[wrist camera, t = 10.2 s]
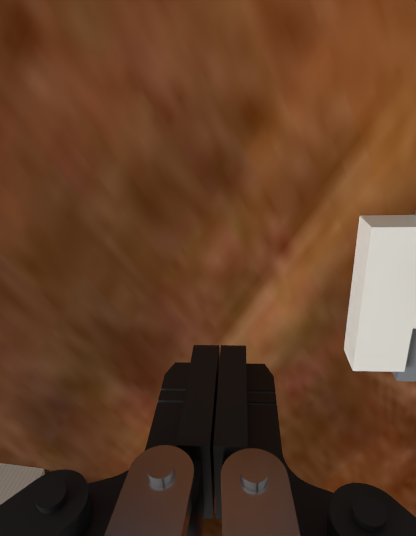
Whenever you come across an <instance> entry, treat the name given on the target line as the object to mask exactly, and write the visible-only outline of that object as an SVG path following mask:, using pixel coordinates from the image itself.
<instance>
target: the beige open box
mask: <svg viewBox="0 0 416 536" xmlns="http://www.w3.org/2000/svg"><path fill="white" fill-rule="evenodd" d="M43 475H45V471H44V469H42V468H34V467H26V466H18V465H10V464H2V463H0V505H1V504H2V503H4V502H5V501H6V500H8V499H9V498H11V497H12V496H13V495H15V494H16V493H18V492H19V491H20V490H22V489H23V488H25V487H26V486H27V485H29V484H30V483H32V482H33V481H35V480H36V479H38V478H39V477H41V476H43Z"/></svg>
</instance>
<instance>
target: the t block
mask: <svg viewBox="0 0 416 536" xmlns="http://www.w3.org/2000/svg"><path fill="white" fill-rule="evenodd" d="M413 328H414V329H416V215H372V216H360V218H359V226H358V234H357V243H356V251H355V260H354V268H353V277H352V285H351V294H350V302H349V311H348V319H347V327H346V336H345V344H344V351H345V353H346V356H347V358H348V360H349V363H350V365H351V368H352V370H353V371H389V372H404V371H405V366H406V361H407V356H408V350H409V345H410V340H411V335H412V330H413Z"/></svg>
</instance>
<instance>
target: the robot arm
mask: <svg viewBox="0 0 416 536" xmlns="http://www.w3.org/2000/svg"><path fill="white" fill-rule="evenodd" d="M214 500H215V502H216V519H222V536H416V517H415V516H413V515H412V514H411V513H410V512H409V511H407V510H406V509H405V508H404V507H403V506H401V505H400V504H399V503H398V502H397V501H396V500H394V499H393V498H392V497H391V496H389V495H388V494H387V493H385V492H384V491H382V490H380V489H379V488H376V487H374V486H371V485H368V484H363V483H351V484H346V485H344V486H342V487H340V488H338V489H337V490H336V491H335V492H334V493H332V492H329V491H327V490H324V489H321V488H318V487H315V486H313V485H310V484H308V483H306V482H304V481H303V480H301V479H300V478H298V477H297V476H296V475H295V474H294V473H293V472H292V471H291V470H290V469H289V467H288V466H287V464H286V463H285V460H284V458H283V454H282V447H281V439H280V430H279V421H278V412H277V405H276V394H275V385H274V377H273V375H272V374H271V372H270V371H269V369H268V368H267V367H266V365H265V364H246V346H229V345H221V350H220V351H219V345H194V347H193V352H192V358H191V363H176V362H175V364H174V365H173V366H172V367H171V368H170V369H169V370H168V372H167V373H166V374H165V376H164V380H163V384H162V388H161V392H160V396H159V399H158V403H157V407H156V411H155V415H154V419H153V422H152V426H151V430H150V434H149V438H148V441H147V445H146V448H145V451H144V452H142V453H141V454H140V455H139V456H138V457H137V458H136V459H135V460H134V461H133V463H132V464H131V466H130V468H129V470H127V471H126V472H124V473H122V474H120V475H118V476H115V477H112V478H108V479H104V480H101V481H97V482H93V483H89V484H87V482H86V480H85V478H84V477H83V476H82V475H81V474H80V473H78V472H76V471H73V470H66V469H64V470H56V471H52V472H49V473H47V474H45V475H43V476H41V477H39V478H38V479H36V480H35V481H33V482H32V483H30V484H29V485H27V486H26V487H25V488H23V489H22V490H20V491H19V492H18V493H16V494H15V495H13V496H12V497H11V498H9V499H8V500H6V501H5V502H4V503H2V504H1V505H0V536H202V529H203V518H205V519H213V516H214Z"/></svg>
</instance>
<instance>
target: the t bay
mask: <svg viewBox="0 0 416 536" xmlns="http://www.w3.org/2000/svg"><path fill="white" fill-rule="evenodd" d="M415 215H416V213H415ZM392 373H393V375H394V376H395V378H396V380H397V381H416V329H414V328H413V330H412V335H411V340H410V345H409V350H408V356H407V361H406V366H405V371H404V372H392Z"/></svg>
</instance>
